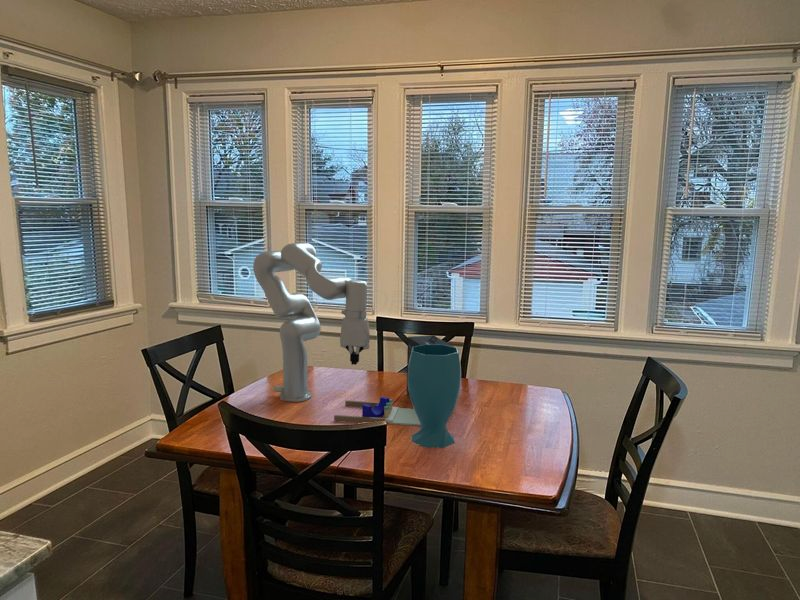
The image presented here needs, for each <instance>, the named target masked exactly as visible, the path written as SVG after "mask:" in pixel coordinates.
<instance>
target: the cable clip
mask: <svg viewBox="0 0 800 600" xmlns="http://www.w3.org/2000/svg"><path fill="white" fill-rule="evenodd" d="M389 399H390V398H389V397H388V396H387V397H386V396H380V397H379V404H377V405H375V406H374V408H372V406H371V405H367V404H364V405H362V407H361V408H362V409H361V417H375V418H383V417H384V416H383V415H384V407H385V406H386V403H389Z"/></svg>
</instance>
